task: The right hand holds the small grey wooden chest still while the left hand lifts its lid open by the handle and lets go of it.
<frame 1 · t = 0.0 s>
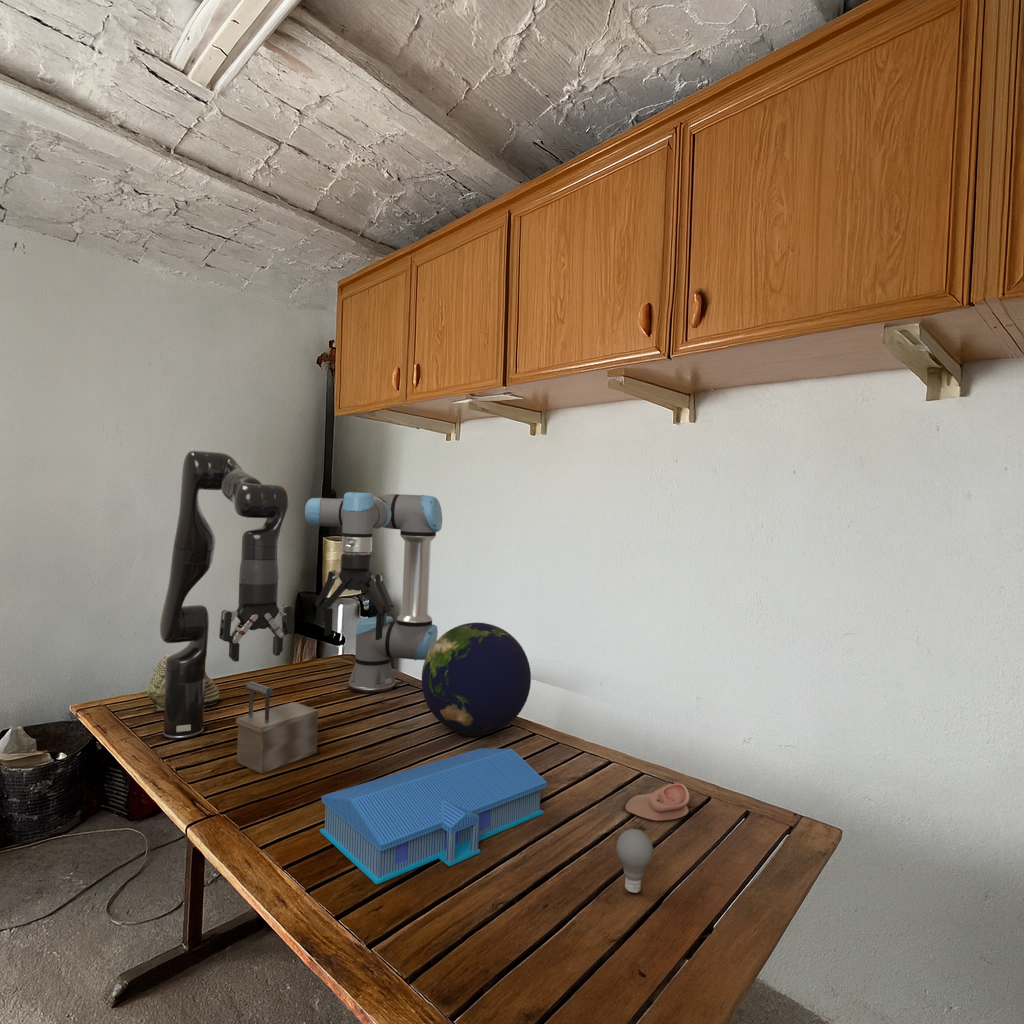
left hand: (256, 657, 132), 29 cm above the table, tool pointing down, fingers open, 8 cm apart
right hand: (353, 637, 160), 28 cm above the table, tool pointing down, fingers open, 13 cm apart
lid: (278, 699, 152), point 14 cm above the table, hinge at 0.0°
chest: (277, 757, 152), on the table
anatomical model: (656, 809, 135), on the table
model building: (441, 826, 124), on the table
globe: (474, 732, 174), on the table
light bulb: (632, 891, 106), on the table
fossil: (183, 706, 185), on the table
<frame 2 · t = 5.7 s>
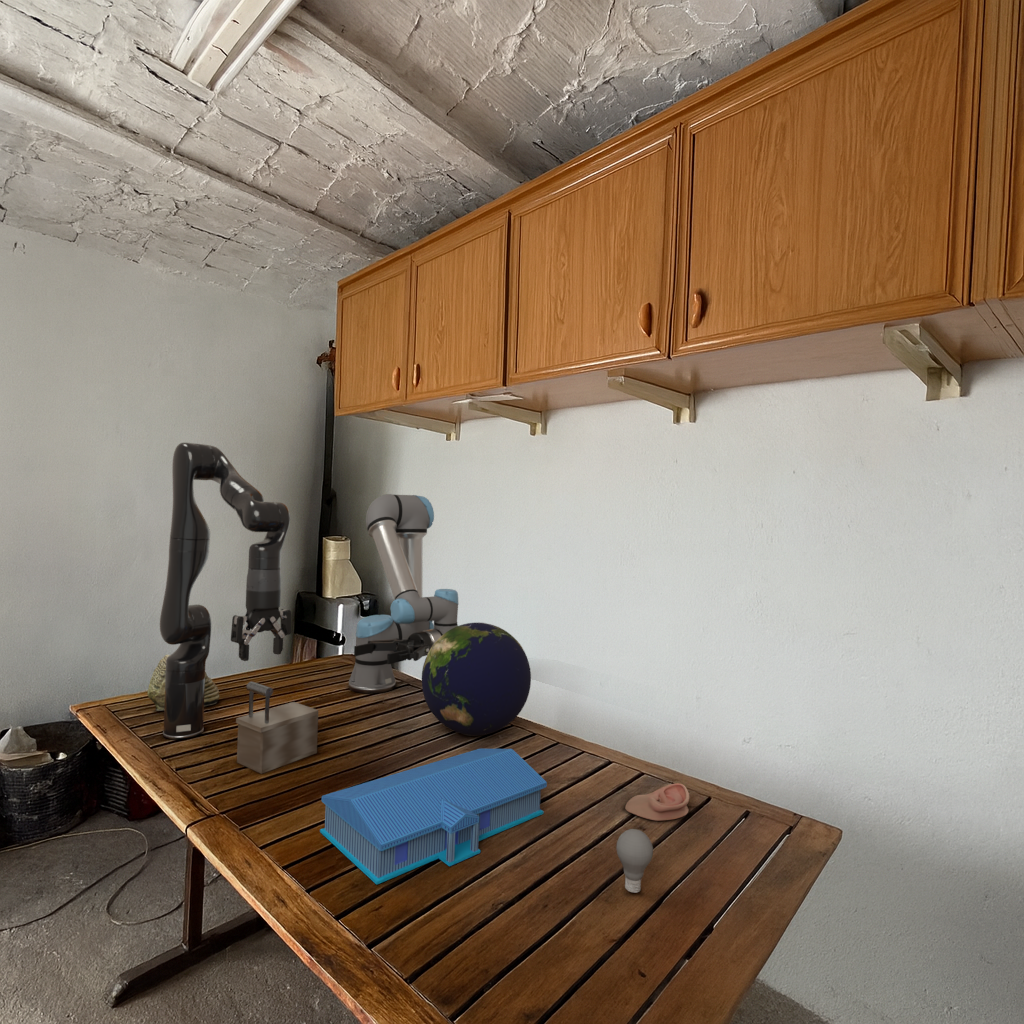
left hand: (261, 657, 147), 25 cm above the table, tool pointing down, fingers open, 8 cm apart
right hand: (371, 655, 177), 19 cm above the table, tool horizontal, fingers open, 13 cm apart
nothing on the table moved.
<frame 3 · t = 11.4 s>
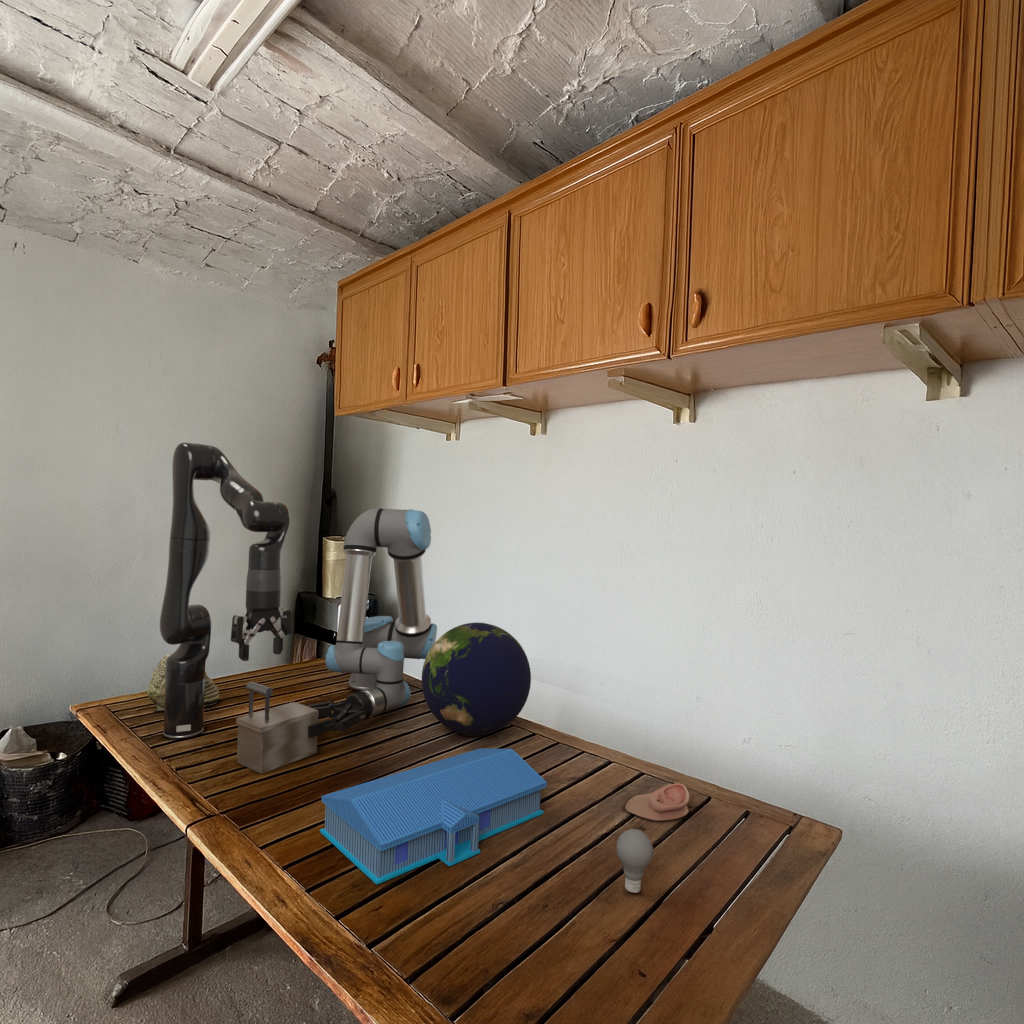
left hand: (261, 657, 147), 25 cm above the table, tool pointing down, fingers open, 8 cm apart
right hand: (295, 726, 156), 6 cm above the table, tool horizontal, fingers closed on chest, 10 cm apart
chest: (277, 757, 152), on the table, touching right hand
everything else where it was.
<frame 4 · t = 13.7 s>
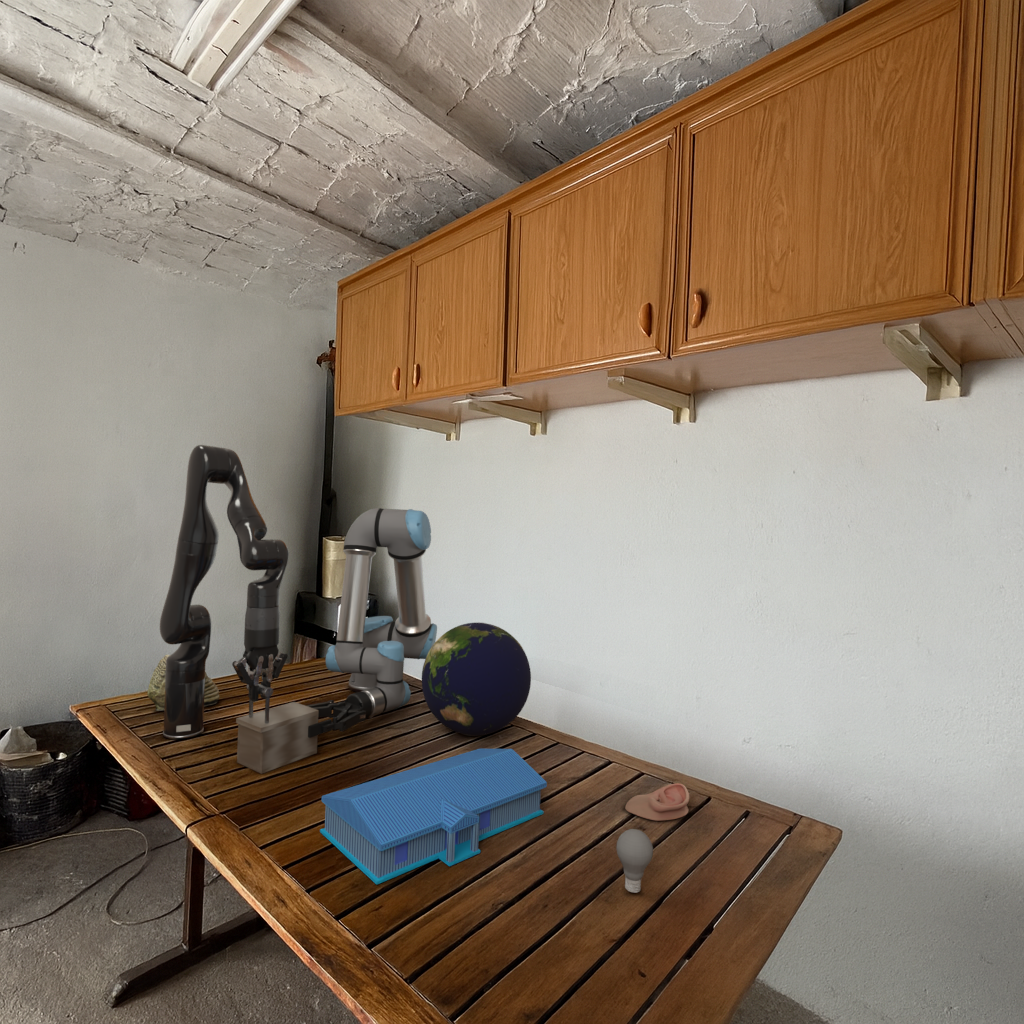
left hand: (259, 698, 147), 16 cm above the table, tool pointing down, fingers closed on lid, 2 cm apart
right hand: (295, 726, 156), 6 cm above the table, tool horizontal, fingers closed on chest, 10 cm apart
lid: (279, 699, 152), point 14 cm above the table, hinge at -0.1°, touching left hand
chest: (277, 757, 152), on the table, touching right hand
everything else where it was.
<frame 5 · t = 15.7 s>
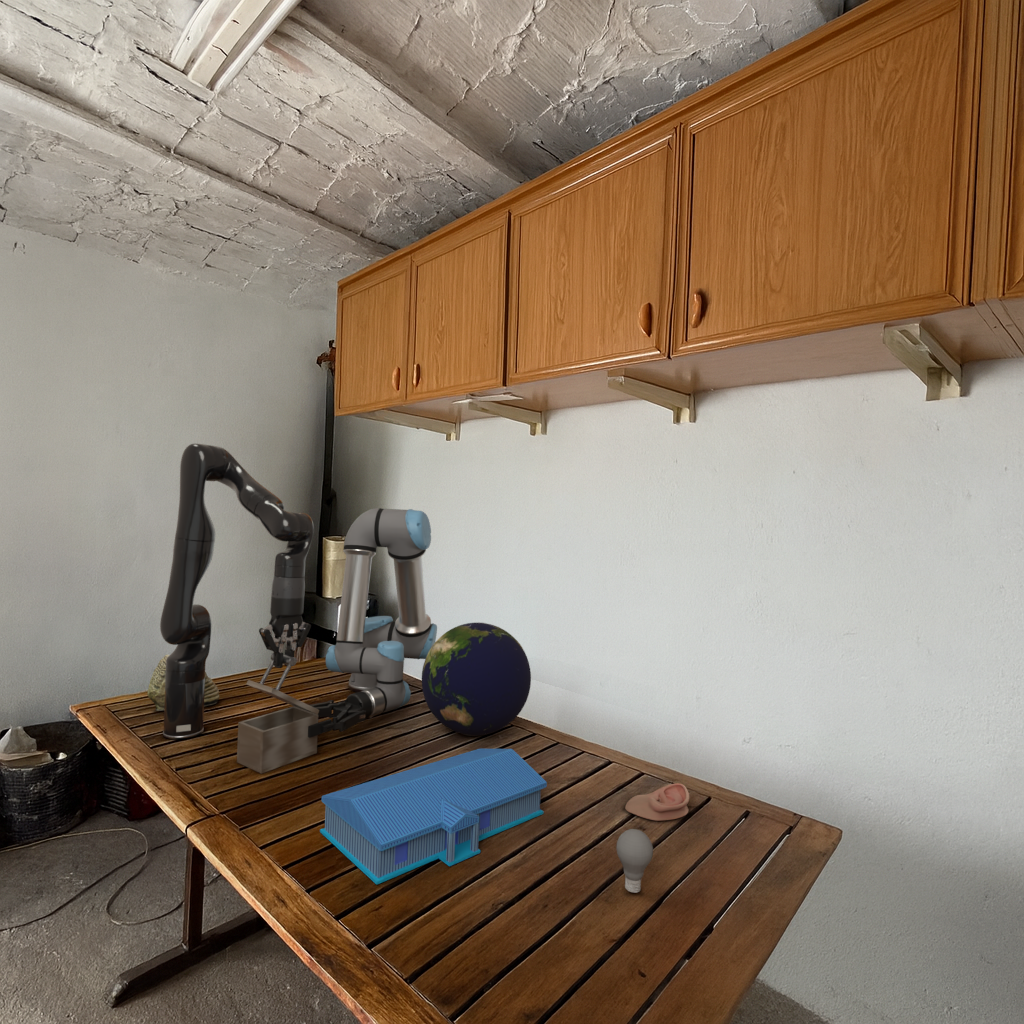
left hand: (283, 666, 152), 22 cm above the table, tool pointing down, fingers closed on lid, 2 cm apart
right hand: (295, 726, 156), 6 cm above the table, tool horizontal, fingers closed on chest, 10 cm apart
lid: (291, 681, 155), point 18 cm above the table, hinge at 32.2°, touching left hand
chest: (277, 757, 152), on the table, touching right hand
everything else where it was.
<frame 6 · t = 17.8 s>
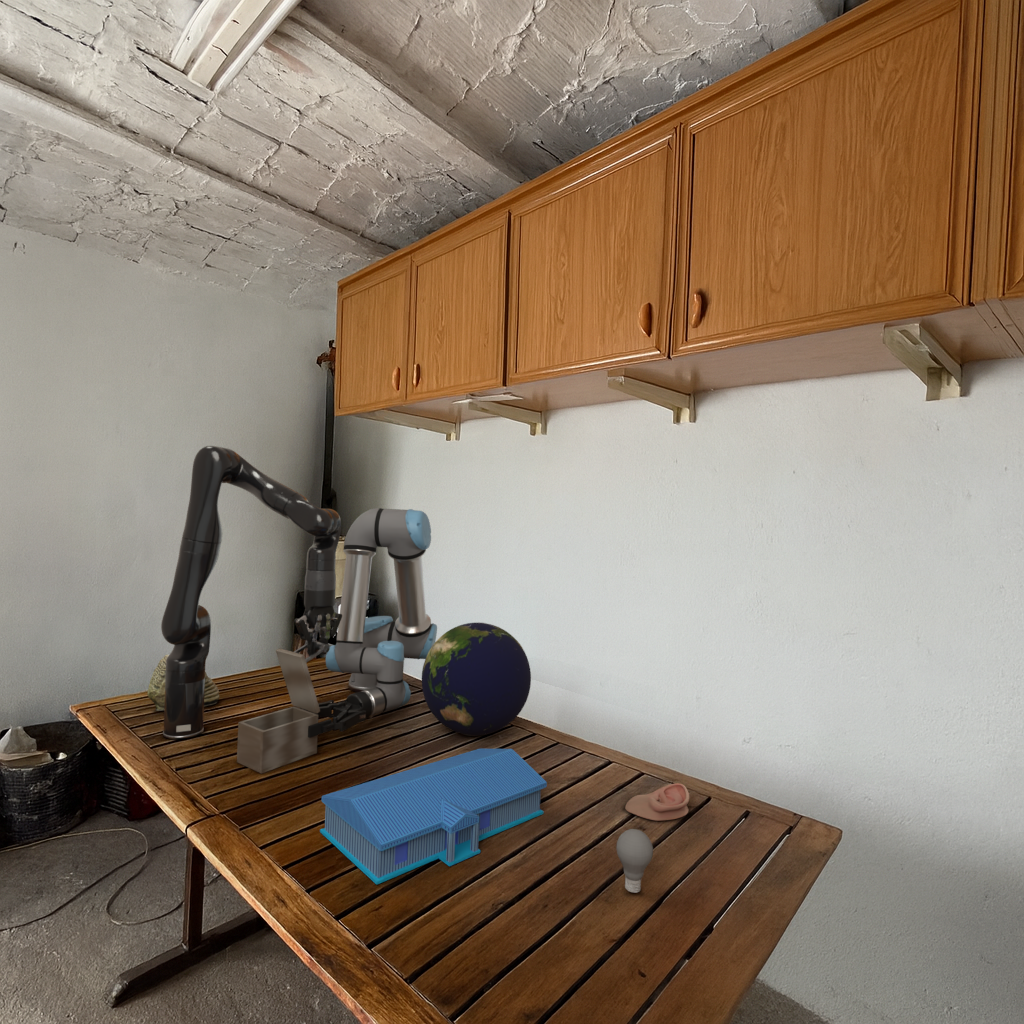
left hand: (317, 654, 161), 23 cm above the table, tool pointing down, fingers closed
right hand: (295, 726, 156), 6 cm above the table, tool horizontal, fingers closed on chest, 10 cm apart
lid: (311, 671, 159), point 19 cm above the table, hinge at 69.6°
chest: (277, 757, 152), on the table, touching right hand
everything else where it was.
when the right hand's fingers open (6 cm above the table, at t = 21.9 s): chest stays where it is, on the table.
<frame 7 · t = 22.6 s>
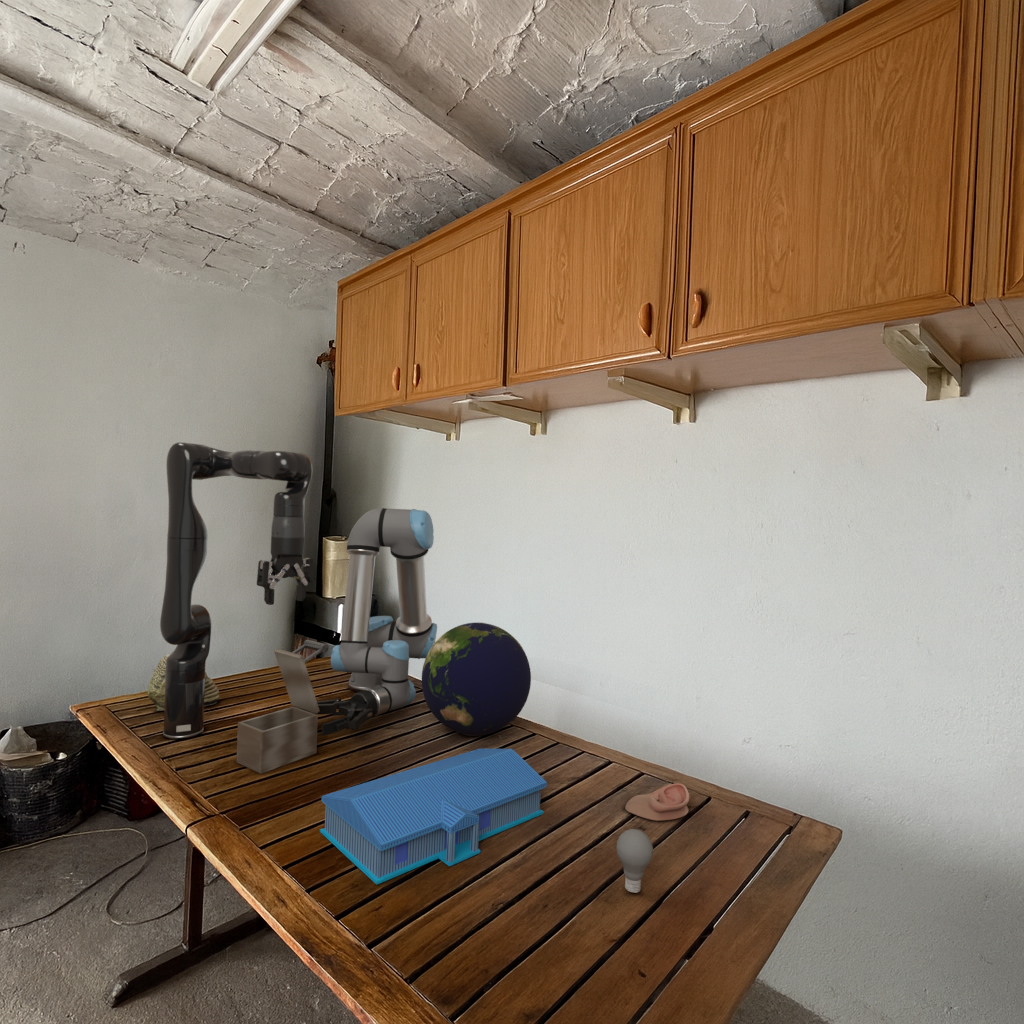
left hand: (285, 602, 152), 37 cm above the table, tool pointing down, fingers open, 8 cm apart
right hand: (304, 723, 159), 6 cm above the table, tool horizontal, fingers open, 13 cm apart
lid: (310, 671, 159), point 19 cm above the table, hinge at 68.7°
chest: (277, 757, 152), on the table
everything else where it was.
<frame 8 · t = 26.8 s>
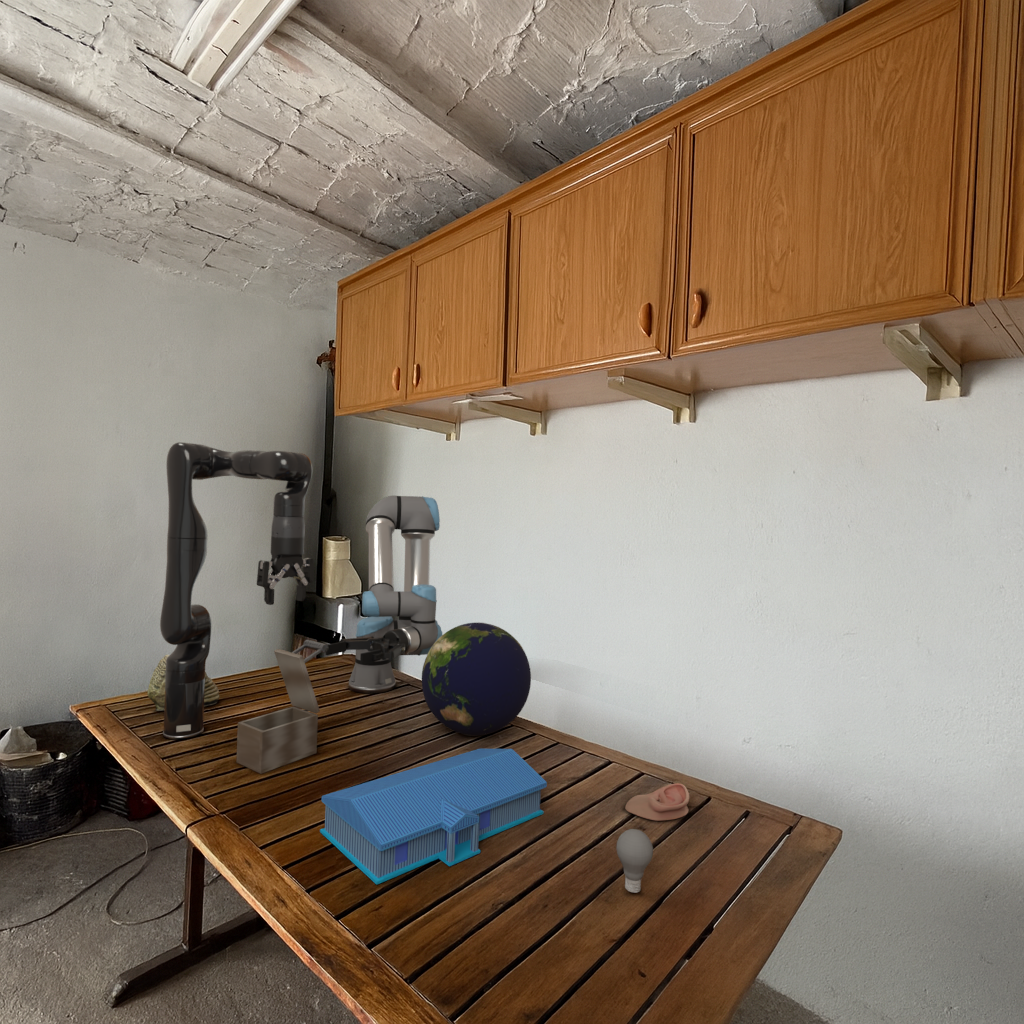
left hand: (285, 602, 152), 37 cm above the table, tool pointing down, fingers open, 8 cm apart
right hand: (343, 654, 168), 22 cm above the table, tool horizontal, fingers open, 13 cm apart
nothing on the table moved.
at the end: lid at +69° (first picture: +0°); the left hand is holding nothing; the right hand is holding nothing; chest tilted 0°; chest never tilted more than 1° during the clip; chest moved 0.1 cm from its start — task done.
